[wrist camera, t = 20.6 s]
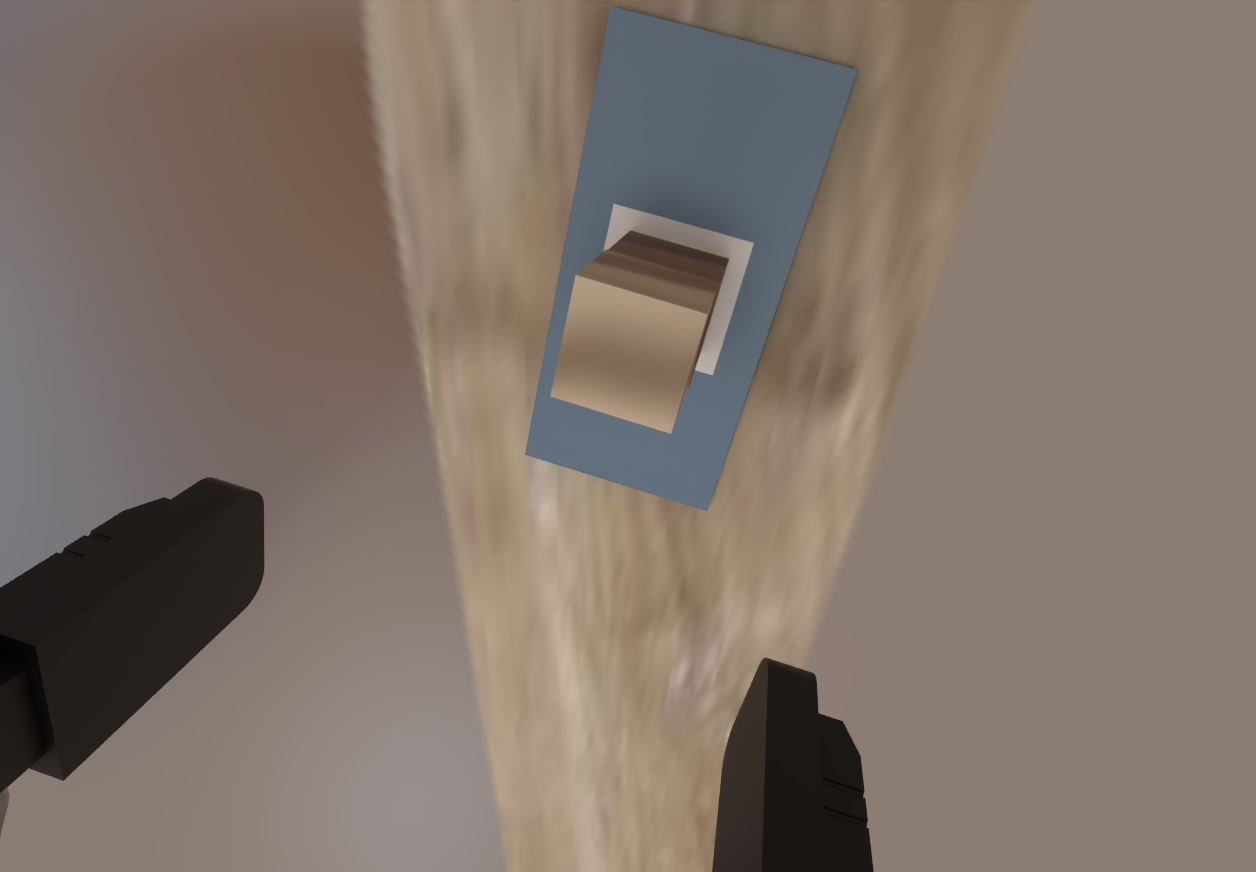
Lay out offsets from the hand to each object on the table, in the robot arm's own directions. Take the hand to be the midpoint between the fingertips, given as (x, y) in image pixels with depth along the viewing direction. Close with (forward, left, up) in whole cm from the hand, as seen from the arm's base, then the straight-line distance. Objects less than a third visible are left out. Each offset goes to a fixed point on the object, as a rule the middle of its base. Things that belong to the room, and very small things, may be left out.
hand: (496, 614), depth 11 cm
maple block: (+2, -1, -22) cm, 22 cm away
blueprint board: (+2, -1, -28) cm, 28 cm away
